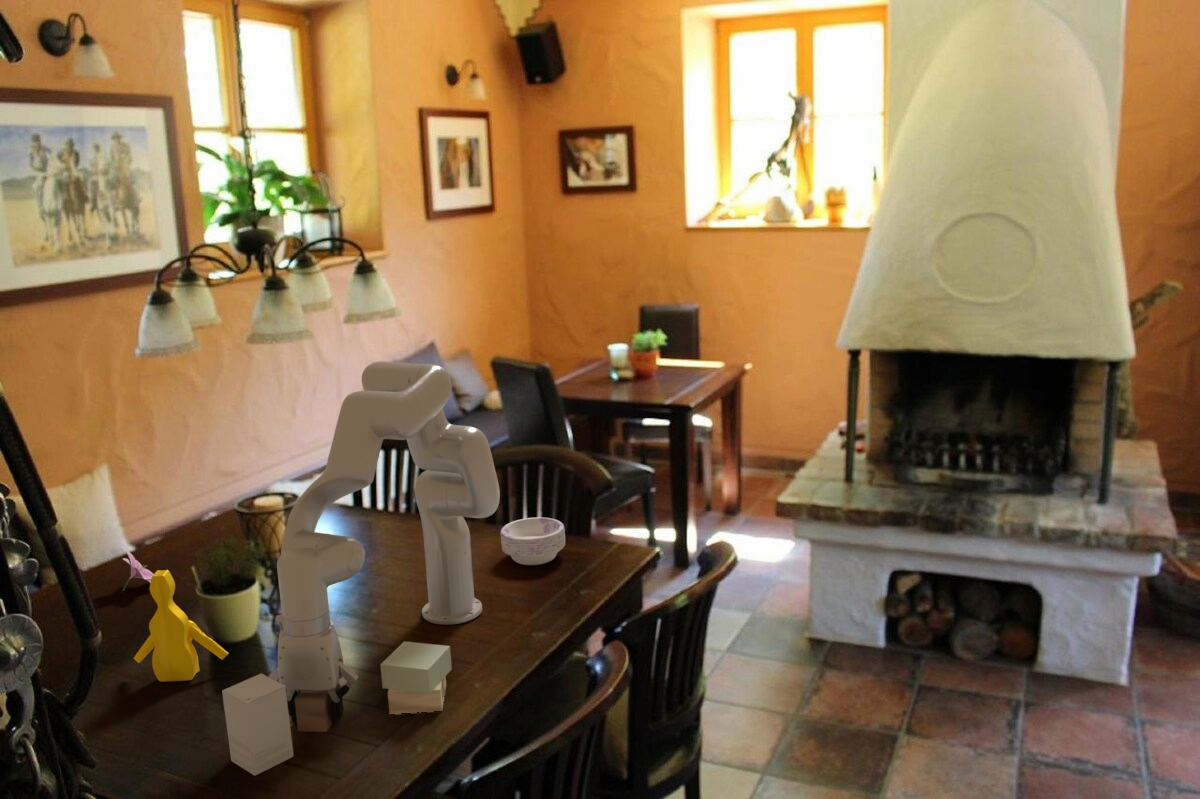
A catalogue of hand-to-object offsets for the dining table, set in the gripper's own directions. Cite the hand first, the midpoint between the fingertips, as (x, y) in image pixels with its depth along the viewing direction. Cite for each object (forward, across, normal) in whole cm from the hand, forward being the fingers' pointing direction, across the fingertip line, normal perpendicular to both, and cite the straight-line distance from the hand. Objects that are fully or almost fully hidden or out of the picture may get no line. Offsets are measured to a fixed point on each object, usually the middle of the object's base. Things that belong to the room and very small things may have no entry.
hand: (317, 718), depth 178 cm
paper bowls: (+1, +24, +76) cm, 80 cm away
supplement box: (+1, -5, -11) cm, 12 cm away
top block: (-3, +15, +9) cm, 18 cm away
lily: (+1, -64, +55) cm, 85 cm away
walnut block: (+1, 0, 0) cm, 1 cm away
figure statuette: (+1, -33, +15) cm, 36 cm away
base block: (+1, +15, +9) cm, 18 cm away
